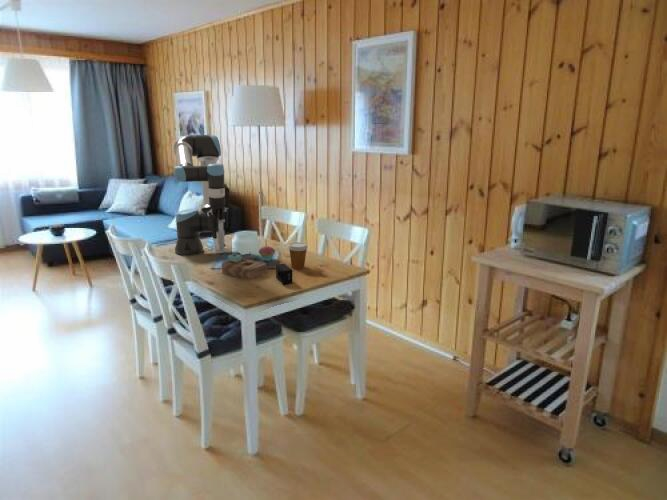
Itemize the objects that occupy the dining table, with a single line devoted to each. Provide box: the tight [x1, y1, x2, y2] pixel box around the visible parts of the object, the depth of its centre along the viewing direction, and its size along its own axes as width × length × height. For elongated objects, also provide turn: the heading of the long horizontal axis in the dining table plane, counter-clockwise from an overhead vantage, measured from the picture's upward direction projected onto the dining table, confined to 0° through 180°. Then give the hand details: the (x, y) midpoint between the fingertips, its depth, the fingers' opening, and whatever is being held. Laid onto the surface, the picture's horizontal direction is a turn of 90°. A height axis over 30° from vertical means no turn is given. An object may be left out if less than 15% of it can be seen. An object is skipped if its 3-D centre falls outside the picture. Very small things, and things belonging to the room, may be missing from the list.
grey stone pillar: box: [214, 218, 225, 252], centre depth 225 cm, size 5×5×16 cm
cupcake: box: [258, 239, 276, 262], centre depth 242 cm, size 9×8×12 cm
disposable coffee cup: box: [288, 242, 308, 270], centre depth 231 cm, size 10×10×12 cm
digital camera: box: [275, 263, 293, 286], centre depth 212 cm, size 10×5×7 cm, turn 27°
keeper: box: [227, 253, 243, 262], centre depth 224 cm, size 5×4×3 cm
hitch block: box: [221, 257, 268, 281], centre depth 222 cm, size 18×12×6 cm, turn 58°
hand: (219, 243), depth 226 cm, fingers closed on grey stone pillar, 3 cm apart
